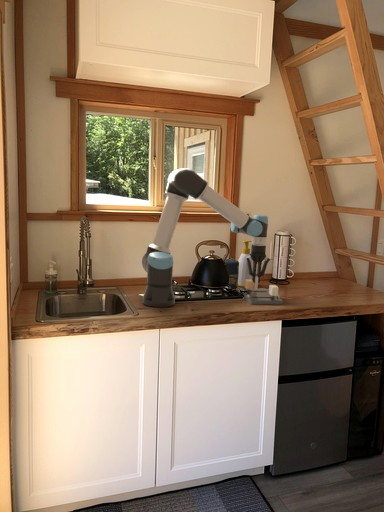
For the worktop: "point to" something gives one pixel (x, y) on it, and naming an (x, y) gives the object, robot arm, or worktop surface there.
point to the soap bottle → (244, 265)
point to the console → (261, 296)
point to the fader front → (273, 290)
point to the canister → (232, 272)
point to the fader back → (248, 284)
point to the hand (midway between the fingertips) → (255, 288)
